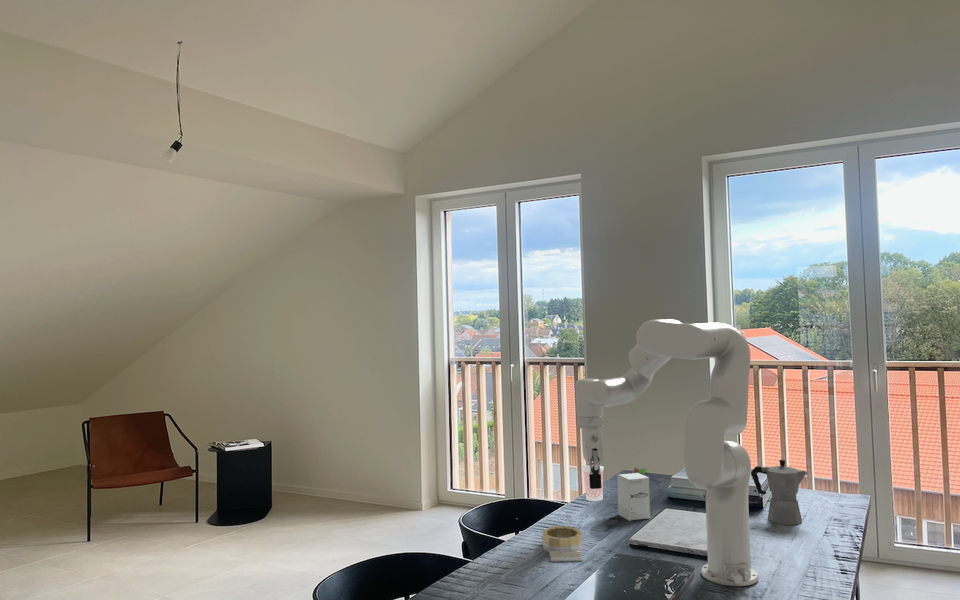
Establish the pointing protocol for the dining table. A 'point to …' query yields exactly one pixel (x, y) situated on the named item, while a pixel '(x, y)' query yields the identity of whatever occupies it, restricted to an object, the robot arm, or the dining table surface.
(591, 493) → the beverage cup
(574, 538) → the yellow faceted ring
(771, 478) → the coffeepot
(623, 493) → the supplement box
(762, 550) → the dining table surface
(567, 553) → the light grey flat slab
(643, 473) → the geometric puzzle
